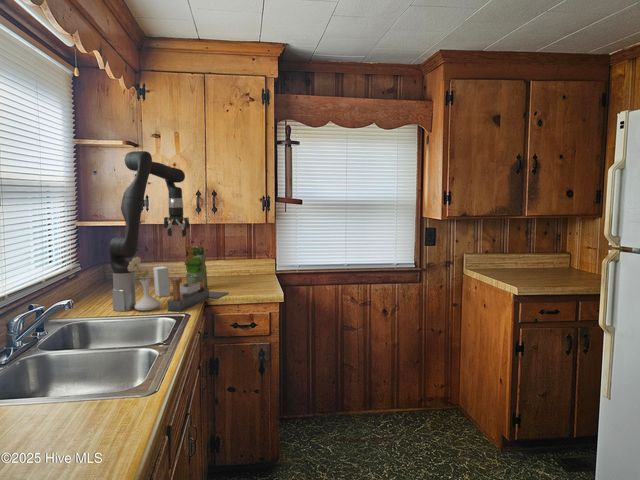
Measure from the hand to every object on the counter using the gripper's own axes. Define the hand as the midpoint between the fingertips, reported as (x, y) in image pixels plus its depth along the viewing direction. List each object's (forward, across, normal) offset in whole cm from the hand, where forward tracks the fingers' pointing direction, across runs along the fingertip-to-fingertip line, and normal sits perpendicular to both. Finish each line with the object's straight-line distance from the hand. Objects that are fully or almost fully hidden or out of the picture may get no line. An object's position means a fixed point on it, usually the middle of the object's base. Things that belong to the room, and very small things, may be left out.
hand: (177, 236), depth 261 cm
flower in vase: (+29, +11, -44) cm, 54 cm away
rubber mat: (+29, +26, -10) cm, 40 cm away
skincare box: (+30, 0, -16) cm, 34 cm away
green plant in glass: (+30, +10, +1) cm, 31 cm away
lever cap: (+23, +25, -30) cm, 45 cm away
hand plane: (+29, +25, -31) cm, 49 cm away
